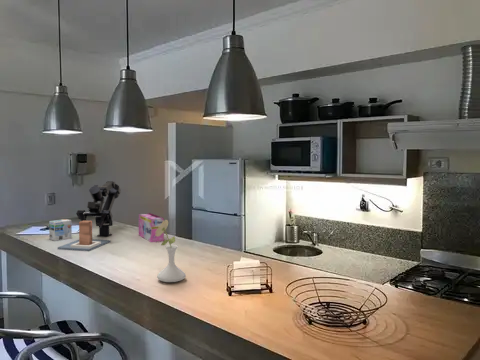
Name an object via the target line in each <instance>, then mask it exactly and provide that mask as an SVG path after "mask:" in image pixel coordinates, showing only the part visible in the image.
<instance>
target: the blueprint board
mask: <svg viewBox="0 0 480 360" xmlns="http://www.w3.org/2000/svg"><path fill="white" fill-rule="evenodd" d="M109 243H111V240H110V239H93V238H92V244H91V245H79V239H77V240H74V241H71V242H69V243H65V244H63V245H61V246H57V250H65V251H77V252H78V251H80V252H90V251H93V250H96V249H98V248H100V247H102V246H104V245H106V244H109Z"/></svg>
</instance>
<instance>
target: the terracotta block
mask: <svg viewBox="0 0 480 360" xmlns="http://www.w3.org/2000/svg"><path fill="white" fill-rule="evenodd" d="M78 223H79V224H78V240H79V245H91V244H92V239H93V221H92V220H86V221H81V220H80V221H79V222H78Z"/></svg>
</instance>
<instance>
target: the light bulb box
mask: <svg viewBox="0 0 480 360" xmlns="http://www.w3.org/2000/svg"><path fill="white" fill-rule="evenodd" d="M72 222H73V221H72V220H71V219H67V218H65V219H56V220H49V222H48V226H49V230H48V231H49V233H48V234H49V236H48V237H49V240H51V241H63V240H69V239H72V238H73V237H72V236H73V235H72V233H73V230H72V229H73V228H72V226H73V224H72Z"/></svg>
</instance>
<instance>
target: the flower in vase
mask: <svg viewBox="0 0 480 360" xmlns="http://www.w3.org/2000/svg"><path fill="white" fill-rule="evenodd" d="M168 225H169V221H168V219H165V220H164V221H163V222H162V223H161V226H160V225H159V226H158V229H157V231H156V232H155V233H156V234H155V236H157V237H158V236H160V235H161V234H162V233H165V236H166V239H164V241H161V245H160V246H165V249H166V250H167V255H168V263H167V265H166V266H165V267H164V268H163V269H162V270H160V271H159V273H158V274H157V277H156V278H157V280H159V281H161V282H164V283H177V282H180V281H183V280H184V279H185V278H186V277H187V276H186V272H185V271H183V270H182V268H179V267H178V266H177V264H176V262H175V256H176V255H175V254H176V250H177V249H178V247H179V246H178V245H177V244H176V245H175V244H174V243H175V242H176V237H175V236H173V237H171V238H170V239H169V235H168V233H167V228H168ZM167 243H168V244H167Z"/></svg>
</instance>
